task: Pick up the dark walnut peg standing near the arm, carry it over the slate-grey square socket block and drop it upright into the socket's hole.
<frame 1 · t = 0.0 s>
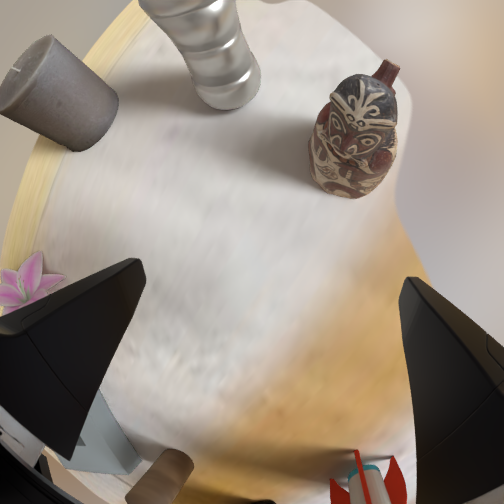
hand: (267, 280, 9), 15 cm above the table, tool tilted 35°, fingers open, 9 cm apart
walnut peg: (177, 461, 24), on the table
plastic bottle: (233, 92, 25), on the table
socket block: (78, 417, 27), on the table
pillar candle: (92, 118, 29), on the table
lily: (49, 289, 29), on the table
toy rocket: (362, 468, 21), on the table
figurine: (346, 161, 23), on the table
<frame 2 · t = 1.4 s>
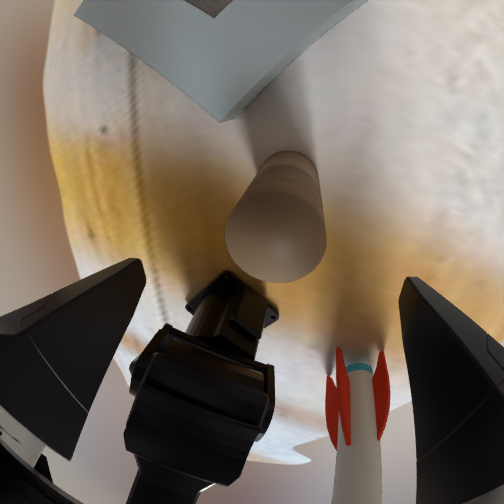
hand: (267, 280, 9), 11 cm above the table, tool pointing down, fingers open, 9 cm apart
walnut peg: (289, 179, 19), on the table
toy rocket: (354, 363, 27), on the table
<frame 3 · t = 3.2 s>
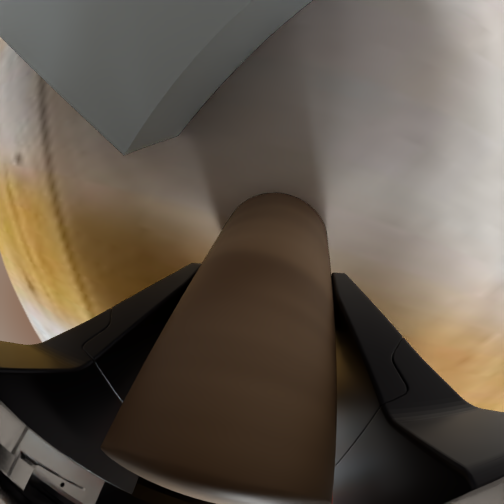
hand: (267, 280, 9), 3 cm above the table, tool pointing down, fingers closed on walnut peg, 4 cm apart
walnut peg: (275, 241, 11), on the table, touching gripper
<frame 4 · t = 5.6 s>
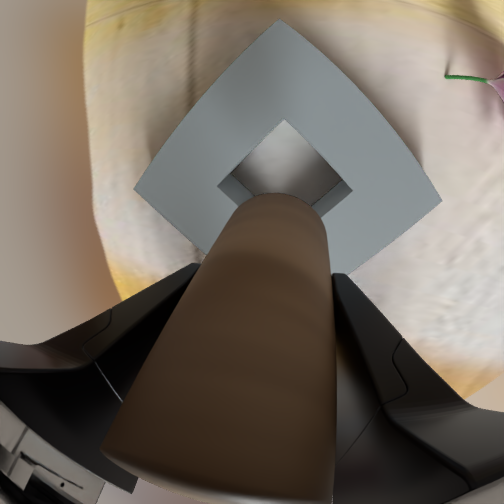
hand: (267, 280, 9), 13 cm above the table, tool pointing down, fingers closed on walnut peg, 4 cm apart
walnut peg: (275, 242, 11), point 10 cm above the table, touching gripper
socket block: (287, 173, 20), on the table
lily: (484, 90, 13), on the table
when the fingers open (4 cm above the table, at t = 7.9 s): walnut peg drops 2 cm, resting in socket block.
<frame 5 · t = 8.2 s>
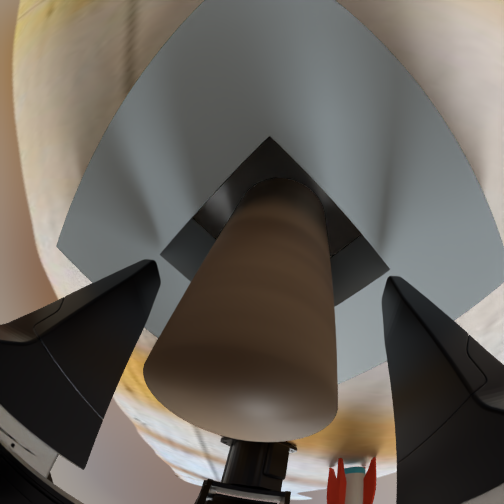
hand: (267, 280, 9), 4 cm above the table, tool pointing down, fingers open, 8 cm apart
walnut peg: (280, 220, 13), resting in socket block
socket block: (280, 221, 13), on the table
toy rocket: (352, 461, 28), on the table
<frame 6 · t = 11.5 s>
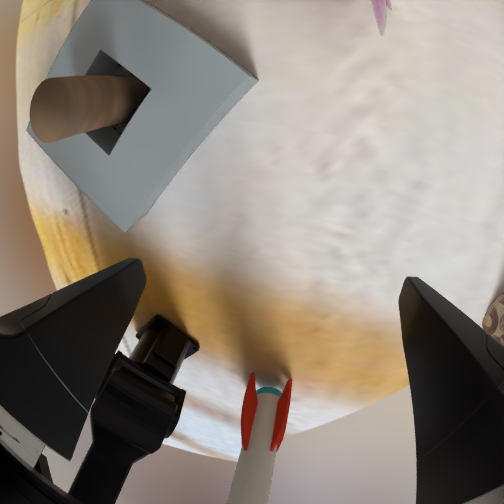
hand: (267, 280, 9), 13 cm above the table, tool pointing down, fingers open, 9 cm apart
walnut peg: (129, 98, 19), resting in socket block
socket block: (129, 98, 19), on the table
toy rocket: (270, 385, 34), on the table
figurine: (503, 310, 22), on the table
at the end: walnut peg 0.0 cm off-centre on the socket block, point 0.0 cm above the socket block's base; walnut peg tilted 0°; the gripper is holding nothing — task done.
